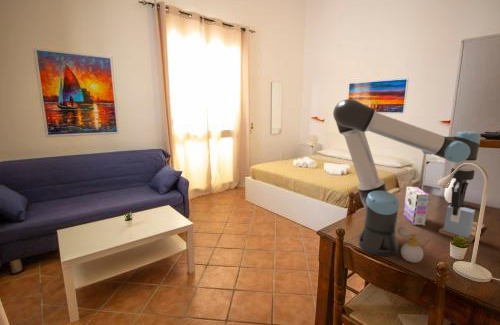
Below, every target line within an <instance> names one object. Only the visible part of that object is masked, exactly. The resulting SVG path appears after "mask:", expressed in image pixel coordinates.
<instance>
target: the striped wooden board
mask: <svg viewBox="0 0 500 325" xmlns="http://www.w3.org/2000/svg"><path fill="white" fill-rule="evenodd" d="M477 223H478V222H476V221H473V225H472V230H471V235H470V236H469V237H468V238H466V237H464V238H465V239H466V241H465V242H469V243H472V242H473V241H474V239H475V238H476V237H475V234H476V228H477ZM482 224H483V225H482V230H483V229H484V228H485V224H484V223H482ZM443 230H444V225H443V226H442V227H441V228H440V229H438V233H439V234H442V235H446V236H449V237H452V238H455V236H459V235H456V234H453V233H450V232H446V231H443ZM461 237H463V236H461Z"/></svg>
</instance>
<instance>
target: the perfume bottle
mask: <svg viewBox="0 0 500 325" xmlns="http://www.w3.org/2000/svg"><path fill="white" fill-rule="evenodd" d="M397 234H399V235H400V236H401V237H404V238H408V242H406V243H404V244H402V246H401V248H400V254H401V256H402V258H403V259H404V260H405V261H407V262H409V263H414V264H416V263H419V262H421V261H422V260H423V259H424V251H423V249H422V247H421V246H420V245H419V244H418V243H419V240H418V239H417V236H416V233H415V232H414V233H413V234H412V232H411V231H410V230H409V229H408V228H407V227H404V226H400V227H398V228H397Z"/></svg>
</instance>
